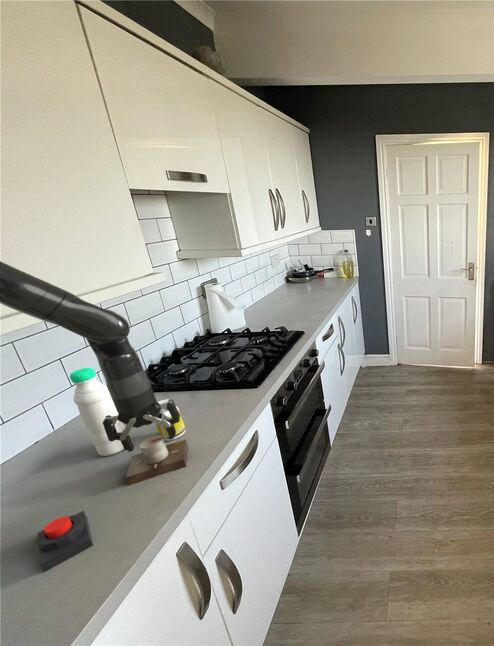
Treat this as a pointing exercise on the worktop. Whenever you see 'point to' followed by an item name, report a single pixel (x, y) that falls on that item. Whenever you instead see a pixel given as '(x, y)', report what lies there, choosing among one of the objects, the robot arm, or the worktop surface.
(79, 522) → the switch block
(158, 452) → the dimmer knob
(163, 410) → the pill bottle
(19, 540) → the worktop surface
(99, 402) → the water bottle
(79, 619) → the worktop surface
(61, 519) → the light button
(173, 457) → the dimmer panel
